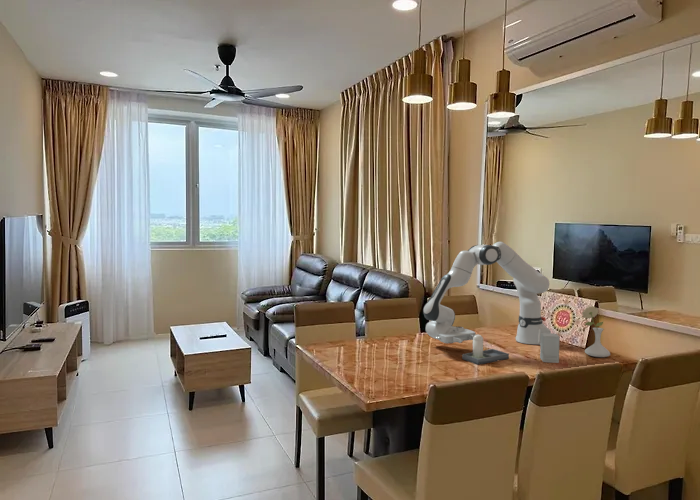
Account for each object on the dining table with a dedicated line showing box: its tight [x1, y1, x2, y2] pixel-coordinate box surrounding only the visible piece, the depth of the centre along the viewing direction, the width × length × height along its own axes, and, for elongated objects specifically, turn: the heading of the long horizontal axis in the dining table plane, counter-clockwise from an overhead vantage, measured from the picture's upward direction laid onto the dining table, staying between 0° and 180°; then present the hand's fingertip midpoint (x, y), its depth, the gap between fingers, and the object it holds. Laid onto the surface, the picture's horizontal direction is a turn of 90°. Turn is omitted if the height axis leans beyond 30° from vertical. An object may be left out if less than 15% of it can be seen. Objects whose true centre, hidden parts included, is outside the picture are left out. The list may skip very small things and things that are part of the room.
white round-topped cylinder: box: [472, 333, 484, 359], centre depth 230 cm, size 5×5×11 cm
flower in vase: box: [581, 305, 611, 358], centre depth 238 cm, size 13×11×25 cm
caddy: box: [461, 348, 510, 366], centre depth 233 cm, size 20×11×2 cm, turn 120°
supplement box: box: [539, 332, 560, 364], centre depth 230 cm, size 7×7×13 cm
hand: (468, 339), depth 235 cm, fingers open, 8 cm apart
